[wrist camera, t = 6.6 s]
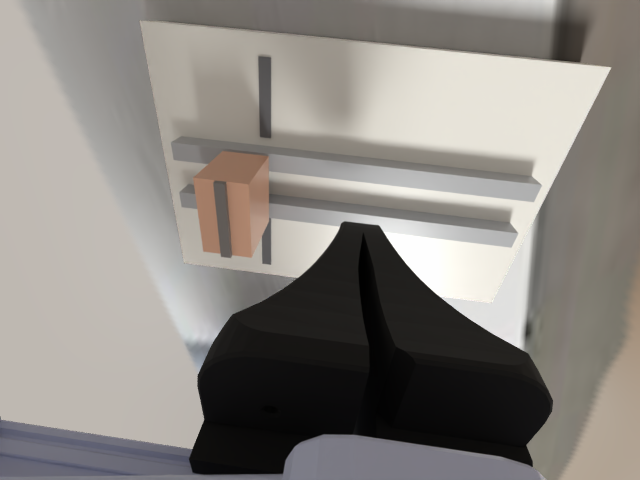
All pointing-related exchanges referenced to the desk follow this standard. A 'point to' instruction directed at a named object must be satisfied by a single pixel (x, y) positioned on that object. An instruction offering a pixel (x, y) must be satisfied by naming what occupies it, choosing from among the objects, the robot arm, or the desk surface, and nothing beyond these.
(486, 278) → the white slider track board
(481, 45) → the desk surface
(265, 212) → the fader
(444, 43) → the desk surface
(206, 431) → the robot arm
